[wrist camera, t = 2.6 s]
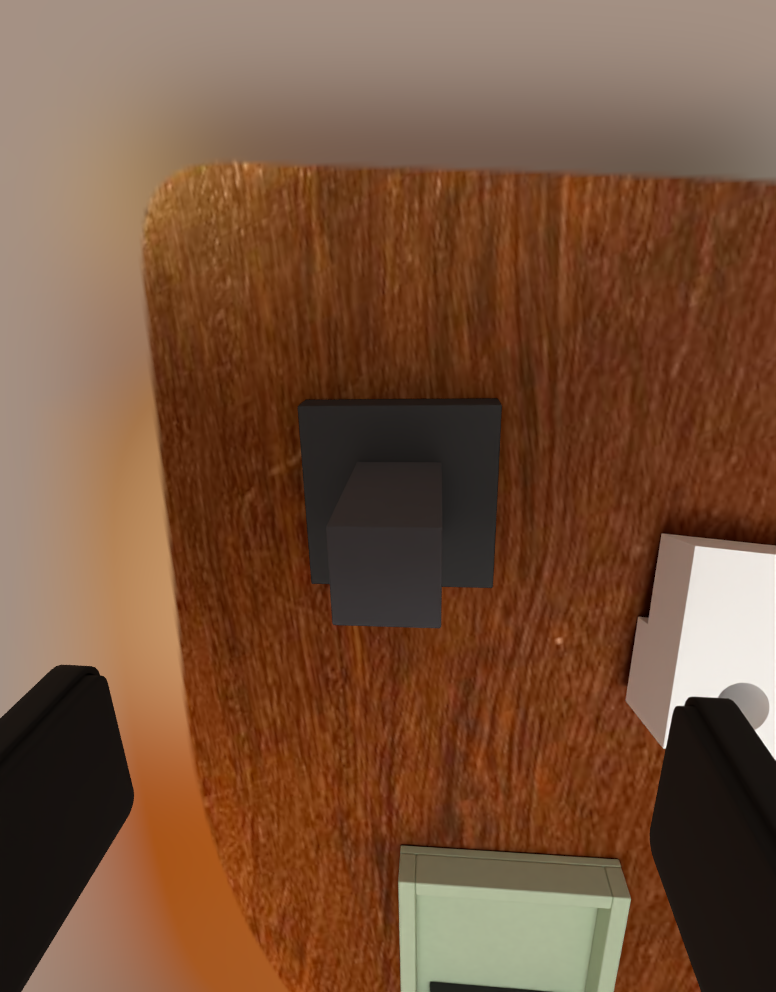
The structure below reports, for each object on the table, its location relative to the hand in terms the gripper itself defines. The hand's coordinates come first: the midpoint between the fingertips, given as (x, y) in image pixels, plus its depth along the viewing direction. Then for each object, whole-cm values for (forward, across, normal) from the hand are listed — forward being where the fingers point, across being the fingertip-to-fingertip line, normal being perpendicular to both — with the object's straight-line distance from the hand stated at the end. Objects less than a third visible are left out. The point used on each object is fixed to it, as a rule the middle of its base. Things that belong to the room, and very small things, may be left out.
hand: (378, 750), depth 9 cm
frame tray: (+13, -4, +28) cm, 31 cm away
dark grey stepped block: (+13, +1, 0) cm, 13 cm away
